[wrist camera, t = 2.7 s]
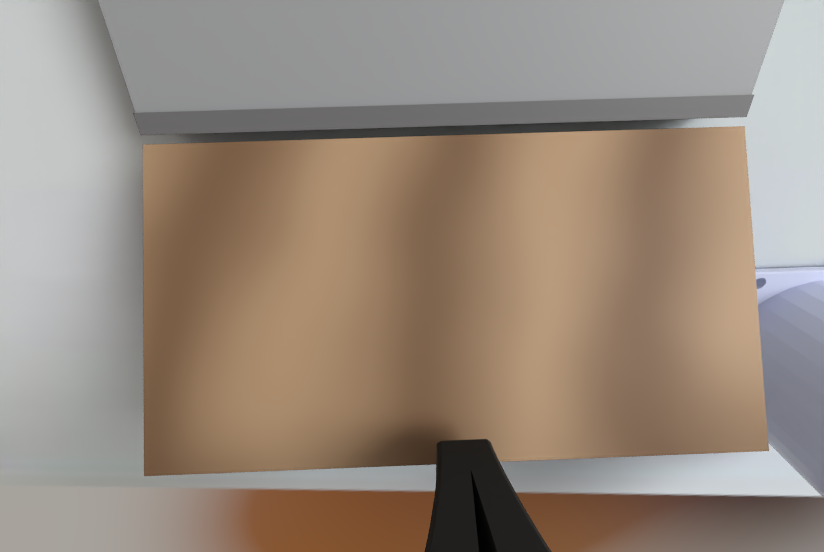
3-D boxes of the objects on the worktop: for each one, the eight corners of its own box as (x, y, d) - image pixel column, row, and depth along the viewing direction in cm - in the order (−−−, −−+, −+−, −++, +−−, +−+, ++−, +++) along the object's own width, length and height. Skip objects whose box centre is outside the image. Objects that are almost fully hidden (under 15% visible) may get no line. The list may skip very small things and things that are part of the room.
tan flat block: (705, 145, 13) (744, 126, 11) (725, 432, 13) (768, 450, 11) (174, 162, 13) (142, 144, 11) (176, 454, 12) (144, 475, 11)
